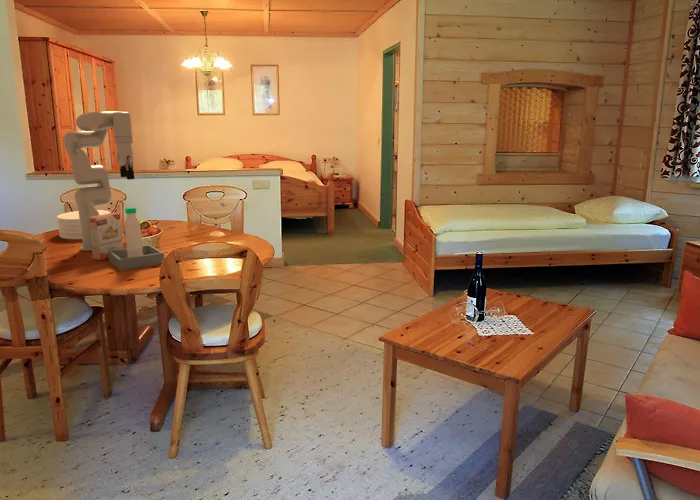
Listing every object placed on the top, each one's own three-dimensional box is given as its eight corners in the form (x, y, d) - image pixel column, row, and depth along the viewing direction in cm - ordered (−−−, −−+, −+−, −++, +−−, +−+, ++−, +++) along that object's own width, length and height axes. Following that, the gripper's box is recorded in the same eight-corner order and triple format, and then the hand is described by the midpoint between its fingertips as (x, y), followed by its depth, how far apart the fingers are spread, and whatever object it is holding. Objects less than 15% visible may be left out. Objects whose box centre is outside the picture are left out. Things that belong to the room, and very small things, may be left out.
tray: (109, 261, 273) (107, 250, 272) (151, 254, 285) (150, 244, 283) (120, 270, 258) (119, 259, 256) (164, 263, 269) (163, 252, 268)
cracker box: (101, 261, 273) (96, 218, 268) (92, 259, 276) (87, 217, 271) (124, 254, 285) (120, 213, 280) (116, 252, 288) (111, 212, 283)
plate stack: (49, 235, 328) (46, 215, 325) (94, 226, 350) (92, 208, 347) (77, 241, 313) (75, 221, 310) (122, 232, 335) (120, 212, 332)
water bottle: (130, 258, 274) (124, 206, 268) (145, 257, 275) (140, 206, 268) (126, 262, 267) (120, 209, 261) (141, 261, 268) (136, 209, 262)
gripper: (109, 139, 261) (113, 176, 266) (120, 141, 248) (124, 180, 252) (126, 138, 266) (130, 175, 270) (137, 140, 252) (141, 179, 257)
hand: (127, 178), depth 261 cm, fingers open, 9 cm apart
